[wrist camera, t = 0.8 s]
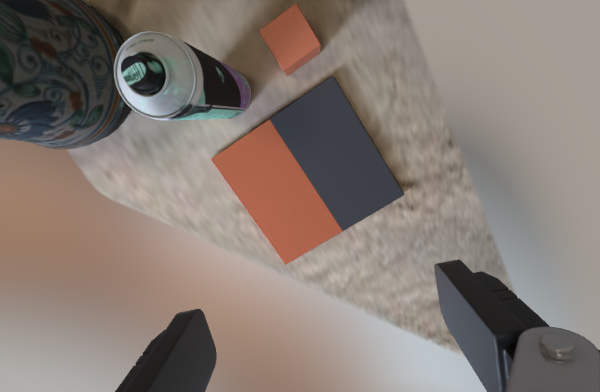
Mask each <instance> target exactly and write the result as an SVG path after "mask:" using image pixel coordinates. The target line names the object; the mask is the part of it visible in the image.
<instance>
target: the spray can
mask: <svg viewBox="0 0 600 392" xmlns="http://www.w3.org/2000/svg"><path fill="white" fill-rule="evenodd" d="M114 78H115V83H116V86H117V89H118V91H119V93H120V95H121V97H122V98H123V100H124V101H125V102H126V103H127V105H128V106H129V107H130V108H132V109H133V110H134V111H136V112H137V113H139V114H141V115H143V116H145V117H149V118H153V119H156V120H164V121H167V120H196V119H225V118H234V117H237V116H239V115H241V114H242V113H243V112H244V111H245V110H246V109H247V108H248V106H249V104H250V100H251V89H250V86H249V83H248V81H247V80H246V78H245V77H244V76H243V75H242V74H241V73H239V72H238V71H236V70H234V69H232V68H231V67H229V66H227V65H225V64H223V63H221V62H220V61H218V60H216V59H214V58H212V57H211V56H209V55H207V54H205V53H203V52H202V51H200V50H198V49H196V48H194V47H193V46H191V45H189V44H187V43H185V42H183V41H182V40H180V39H178V38H176V37H174V36H172V35H169V34H166V33H161V32H157V31H145V32H140V33H138V34H135V35H133V36H132V37H130V38H129V39H127V40H126V41H125V42H124V43H123V44H122V46H121V48H120V49H119V51H118V53H117V56H116V59H115V64H114Z"/></svg>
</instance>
